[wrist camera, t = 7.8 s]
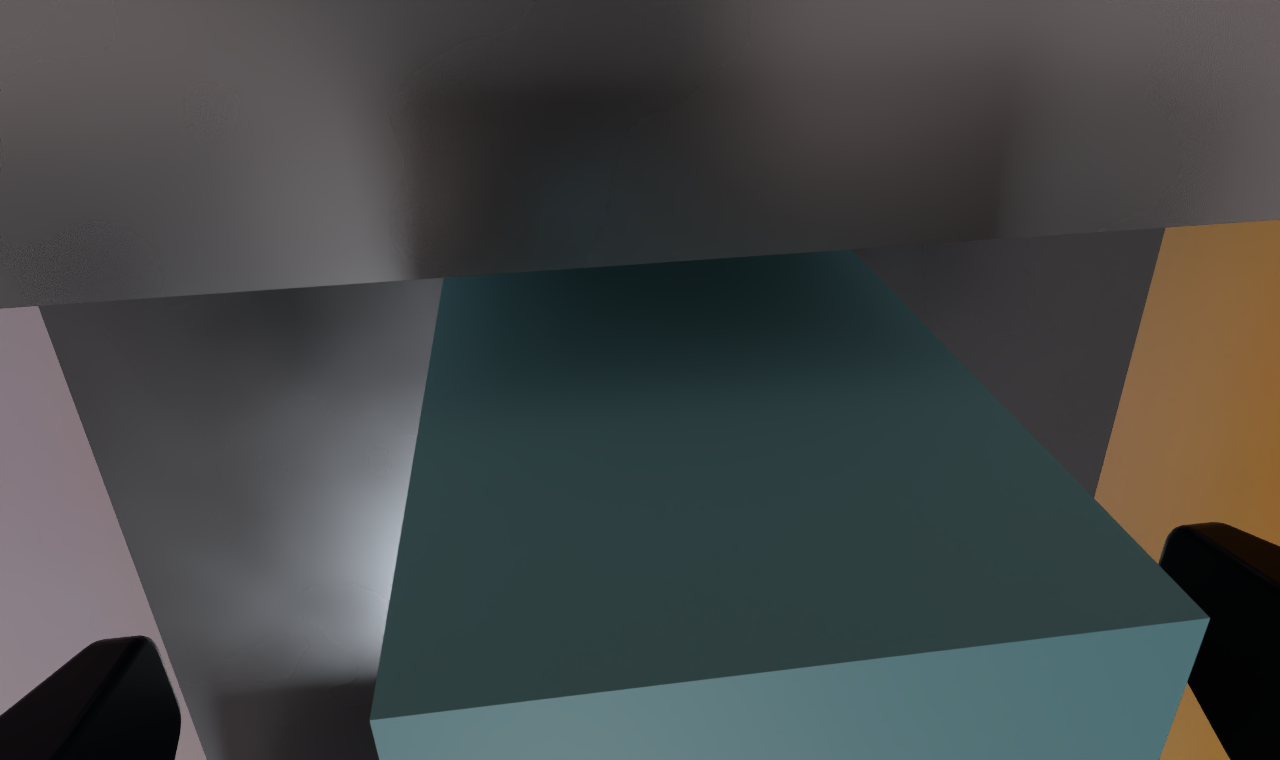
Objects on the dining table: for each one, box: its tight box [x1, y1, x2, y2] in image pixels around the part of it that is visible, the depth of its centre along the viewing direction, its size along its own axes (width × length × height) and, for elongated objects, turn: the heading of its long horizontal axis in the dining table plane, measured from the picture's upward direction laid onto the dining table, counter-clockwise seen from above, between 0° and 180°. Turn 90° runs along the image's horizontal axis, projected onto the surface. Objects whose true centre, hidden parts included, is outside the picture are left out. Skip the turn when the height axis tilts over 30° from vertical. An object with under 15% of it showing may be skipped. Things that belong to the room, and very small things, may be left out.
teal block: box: [370, 249, 1210, 760], centre depth 8 cm, size 5×4×6 cm
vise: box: [0, 0, 1280, 760], centre depth 11 cm, size 12×18×5 cm, turn 1°
